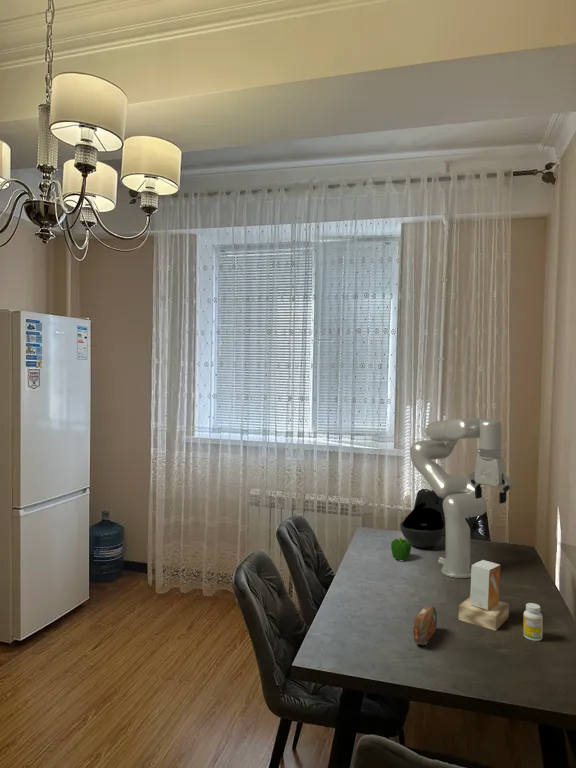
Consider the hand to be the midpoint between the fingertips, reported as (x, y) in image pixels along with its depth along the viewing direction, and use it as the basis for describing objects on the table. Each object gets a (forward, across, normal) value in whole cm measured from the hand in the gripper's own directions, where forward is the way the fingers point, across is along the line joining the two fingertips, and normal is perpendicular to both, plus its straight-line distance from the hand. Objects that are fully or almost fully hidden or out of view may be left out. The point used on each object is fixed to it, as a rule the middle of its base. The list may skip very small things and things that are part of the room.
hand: (490, 500), depth 203 cm
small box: (+29, +12, -22) cm, 38 cm away
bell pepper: (+34, -43, +1) cm, 55 cm away
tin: (+34, +8, -48) cm, 59 cm away
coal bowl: (+34, -48, +22) cm, 63 cm away
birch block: (+34, +12, -22) cm, 42 cm away
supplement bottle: (+34, +28, -22) cm, 49 cm away
